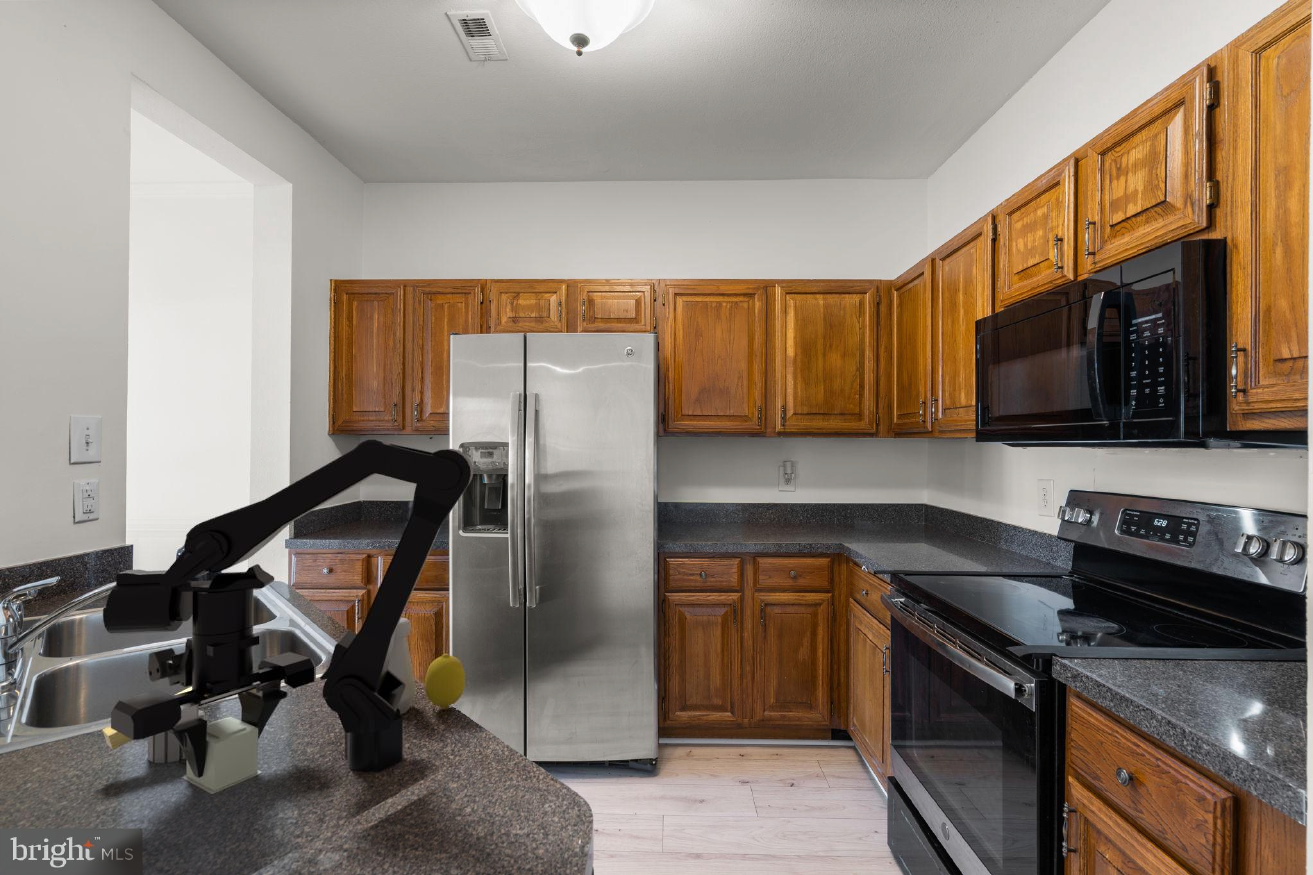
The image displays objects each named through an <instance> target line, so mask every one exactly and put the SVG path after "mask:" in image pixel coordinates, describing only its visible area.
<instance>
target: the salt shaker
mask: <svg viewBox="0 0 1313 875" xmlns="http://www.w3.org/2000/svg"><path fill="white" fill-rule="evenodd" d="M411 631H412V624H411V621H410V620H409V619H408V618H406V617H401V619H400V621H399V624H398V626H397V628H396V632H395V637H394V643H393V648H392V653H391V658H390V662H389V666H388V669H389V670H390V671H391V672H392V673H393V674H395V675H396V676H397V677H398V678H399V679H400V680H402V681H403V682H404V683H405V684H406V687H405V689H404V692H403V694H402V697H401V700H400V702H399V704H398V707H397V708H398V709H399V710H400V715H402V714H406V713H407V711H408V710H409V709H410V708H411V705H412V703H413V700H414V699H415V696H416V690H417V689H416V681H415V677H414V671H413V670H414V669H413V666H412V660H411V659H412V658H411V654H410V649H409V648H410V647H409V642H408V641H409V640H408V638H407V637H408V636H409V635H410V633H411Z"/></svg>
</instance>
